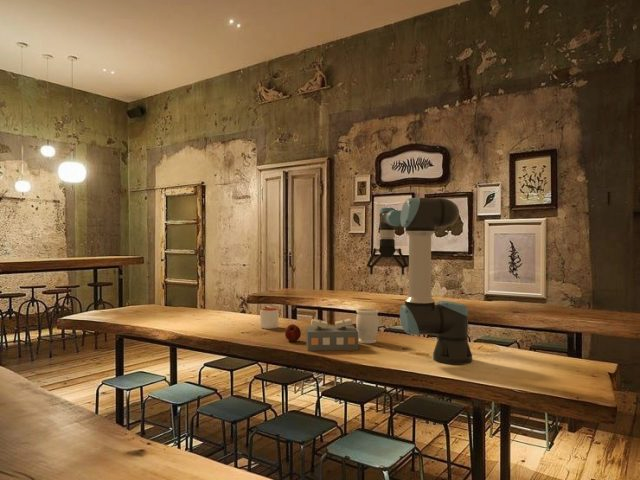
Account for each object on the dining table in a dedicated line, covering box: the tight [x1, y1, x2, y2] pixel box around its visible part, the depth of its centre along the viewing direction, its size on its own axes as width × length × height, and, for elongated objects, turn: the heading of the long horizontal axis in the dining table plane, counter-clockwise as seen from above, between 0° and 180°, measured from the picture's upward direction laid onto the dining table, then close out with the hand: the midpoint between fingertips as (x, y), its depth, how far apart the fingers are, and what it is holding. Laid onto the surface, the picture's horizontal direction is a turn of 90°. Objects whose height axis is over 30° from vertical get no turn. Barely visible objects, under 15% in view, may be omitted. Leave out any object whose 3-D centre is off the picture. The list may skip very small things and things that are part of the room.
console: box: [305, 325, 359, 351], centre depth 212 cm, size 14×22×9 cm, turn 95°
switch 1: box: [310, 318, 329, 328], centre depth 212 cm, size 5×7×2 cm
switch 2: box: [334, 318, 353, 328], centre depth 213 cm, size 5×7×2 cm
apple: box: [284, 324, 302, 342], centre depth 224 cm, size 7×8×8 cm
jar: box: [355, 308, 380, 344], centre depth 223 cm, size 11×10×15 cm
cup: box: [259, 307, 280, 330], centre depth 259 cm, size 10×10×10 cm
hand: (387, 281), depth 236 cm, fingers open, 13 cm apart
